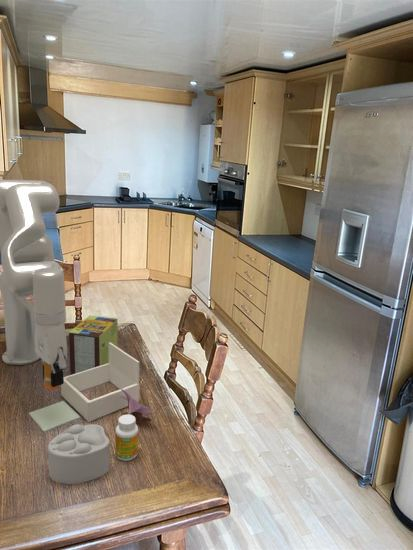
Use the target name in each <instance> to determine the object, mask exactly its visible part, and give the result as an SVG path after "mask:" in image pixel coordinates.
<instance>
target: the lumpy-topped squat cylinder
mask: <svg viewBox="0 0 413 550" xmlns="http://www.w3.org/2000/svg"><path fill="white" fill-rule="evenodd" d="M110 446H111V445H110V439H109V437H108V436H107V435H106V433H105V429H104V427H103V426H102V425H100V424H96V423H95V424H92V423H91V424H86V425H82V424H79V423H78V424H73V425H71V426H70V427H68V429H66V430H64V431H62V432H61V433H59V434H57V435H56V436H55V437H54V438H52V439H51V440H50V442H49V443H48V446H47V456H48V457H47V459H48V460H47V461H48V476H49V477H50V479H51V480H52V481H54V482H56V483H59V484H63V485H65V484H67V485H77V484H83V483H85V482H89V481H92V480H95V479H98V478H101V477H103V476H104V475H106V474H107V473H108V472H109V470H110V467H111V464H110V462H111V460H110V459H111V457H110V456H111V455H110V453H111V451H110V450H111V447H110Z"/></svg>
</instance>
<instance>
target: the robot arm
mask: <svg viewBox="0 0 413 550" xmlns="http://www.w3.org/2000/svg"><path fill="white" fill-rule="evenodd" d="M60 202H61V201H60V195H59V192H58V190H57V188H56V187H55V186H54V185H53V184H52V183H49V182H48V181H45V180H37V179H36V180H33V179H32V180H31V179H29V180H28V179H26V180H25V179H0V255H1V256H0V257H1V260H0V261H1V267H2V272H0V294H1V299H2V300H1V301H2V306H3V307H2V308H3V316H4V317H3V318H4V328H5V329H4V330H5V343H6V344H5V345H6V351H5V352H4V353H2V355H1V358H2V362H4V363H5V364H7V365H10V366H25V365H29V364H32V363H34V362H37V361H38V360H39V359H41V364H42V379H43V380H45V379H44V361H45V362H46V363H47V364H49V365H51V369H52V372H51V386H52V387H55V386H58V385H61V384H63V383H64V377H65V376H64V371H65V369H66V368H67V361H66V360H67V358H68V343H67V332H66V327H65V326H66V325H65V323H66V322H67V314H66V313H67V312H66V311H67V310H66V307H67V306H66V286H65V285H66V284H65V273H64V268H63V266H61V265H60V263H59V262H56V261H55V252H54V245H53V242H52V240H51V238H50V237H49V235H47V234H46V231H47V229H46V228H47V227H46V224H45V221H44V218H43V214H54V213H57V211H58V210H59V208H60ZM31 296H33V300H32V301H33V303H32V302H31V301H30V300H29V299H27V297H31ZM56 358H58V360H56ZM56 363H59V365H57V366H56V367H55V364H56Z"/></svg>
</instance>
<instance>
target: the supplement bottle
mask: <svg viewBox="0 0 413 550" xmlns="http://www.w3.org/2000/svg"><path fill="white" fill-rule="evenodd" d="M136 422H137V421H136V417H135V416H134V415H133V414H128V413H127V414H122V415H121V416H119V418H118V422H117V423H118V424H117V425H116V427H115V437H114V438H115V446H114V448H115V456H116V458H117V459H118V460H121V461H124V462H127V461H131V460H134V459H135V458H136V457H137V456H138V452H139V426H138V425H137V424H136Z"/></svg>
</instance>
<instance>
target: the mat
mask: <svg viewBox="0 0 413 550" xmlns="http://www.w3.org/2000/svg"><path fill="white" fill-rule="evenodd" d="M28 415H29V416H30V418H32V420H33V421H34V423H36V424H37V426H38V427H39V428H40V429H41V431H42V432H43V433H46V432H48V431H51V430H53V429H56V428H59V427H60V426H64V425H66V424H68V423H72V422H74V421H76V420H79V419H81V416H80V415H79V414H78V413H77V412H76V411H75V410H74V408H72V406H71V405H70V404H68V403H67V401H65V400H61V401H58V402H56V403H53V404H50V405H47V406H45V407H42V408H39V409H36V410H34V411H30V412H28Z"/></svg>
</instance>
